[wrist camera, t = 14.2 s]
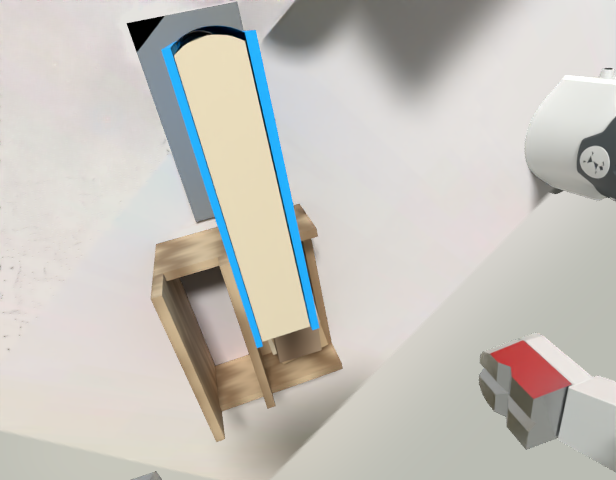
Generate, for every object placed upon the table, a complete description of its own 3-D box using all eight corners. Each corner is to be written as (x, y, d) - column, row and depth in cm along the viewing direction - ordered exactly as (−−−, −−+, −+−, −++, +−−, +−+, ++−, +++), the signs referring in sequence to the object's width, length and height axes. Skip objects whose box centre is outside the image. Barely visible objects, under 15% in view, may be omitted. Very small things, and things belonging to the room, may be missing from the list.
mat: (236, 1, 38) (237, 1, 38) (280, 196, 48) (281, 198, 48) (127, 23, 37) (126, 23, 36) (195, 220, 46) (196, 221, 46)
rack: (299, 203, 49) (328, 245, 40) (325, 334, 59) (353, 391, 50) (156, 244, 46) (150, 298, 37) (210, 373, 57) (216, 442, 47)
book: (257, 191, 47) (325, 329, 25) (220, 201, 46) (257, 352, 24) (214, 23, 38) (263, 14, 17) (168, 32, 37) (156, 36, 16)
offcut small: (307, 282, 46) (313, 294, 44) (315, 336, 50) (321, 350, 48) (263, 294, 45) (267, 307, 43) (275, 348, 49) (279, 362, 47)
